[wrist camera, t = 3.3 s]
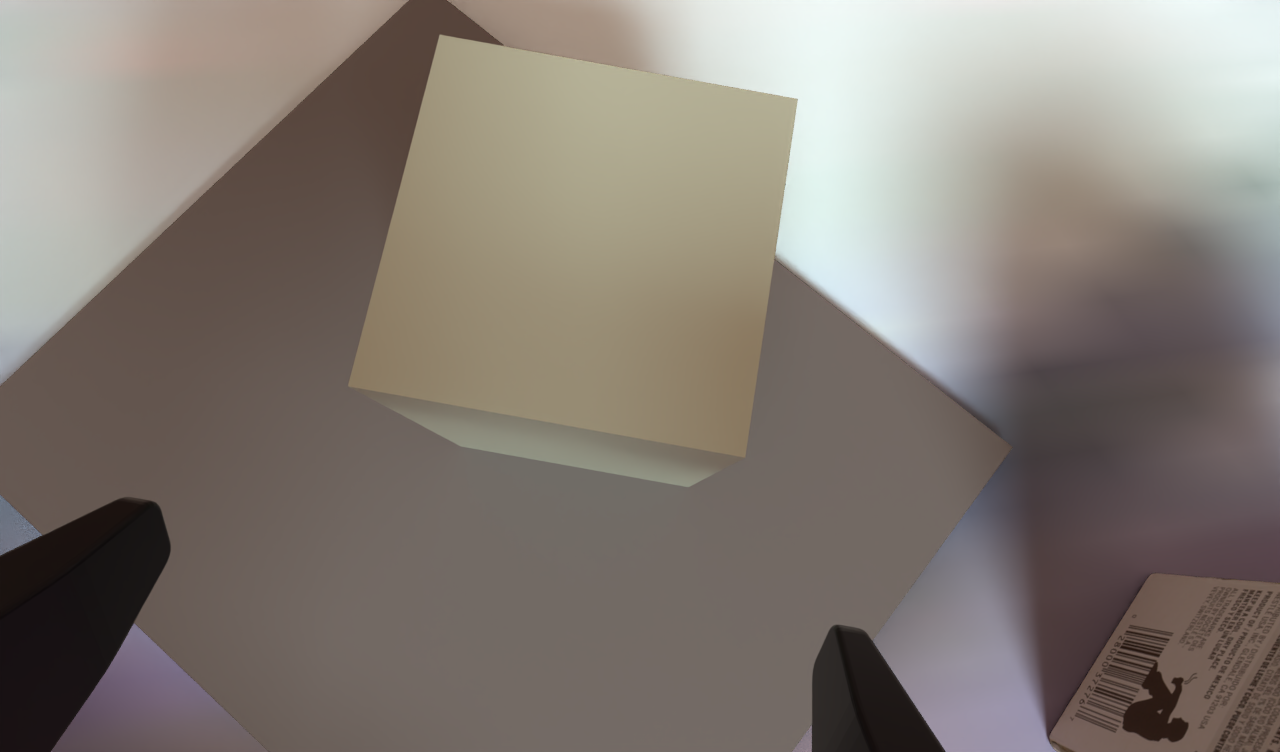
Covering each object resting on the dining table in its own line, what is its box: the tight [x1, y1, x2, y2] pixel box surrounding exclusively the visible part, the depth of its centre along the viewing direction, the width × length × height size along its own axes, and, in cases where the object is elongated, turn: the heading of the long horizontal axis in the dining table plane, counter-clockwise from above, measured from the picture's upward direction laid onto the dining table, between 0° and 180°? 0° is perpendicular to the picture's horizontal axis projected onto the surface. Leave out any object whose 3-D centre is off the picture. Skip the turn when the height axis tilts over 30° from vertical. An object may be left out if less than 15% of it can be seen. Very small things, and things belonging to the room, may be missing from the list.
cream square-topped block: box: [348, 35, 798, 487], centre depth 18 cm, size 7×7×10 cm
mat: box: [0, 0, 1013, 752], centre depth 22 cm, size 24×20×1 cm
